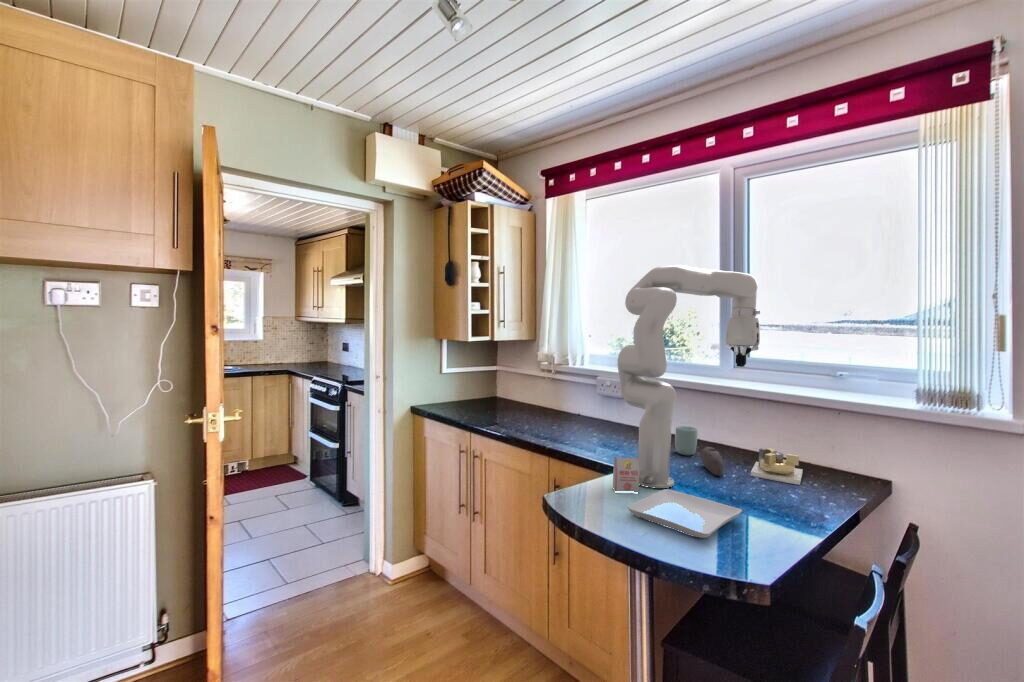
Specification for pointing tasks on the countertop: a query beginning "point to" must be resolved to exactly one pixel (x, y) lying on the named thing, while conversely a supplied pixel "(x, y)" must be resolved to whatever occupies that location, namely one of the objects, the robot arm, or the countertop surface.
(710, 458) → the brown oval lump
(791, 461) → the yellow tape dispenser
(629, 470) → the printed carton box
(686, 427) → the cup
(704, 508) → the salad plate
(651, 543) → the countertop surface
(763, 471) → the housing
